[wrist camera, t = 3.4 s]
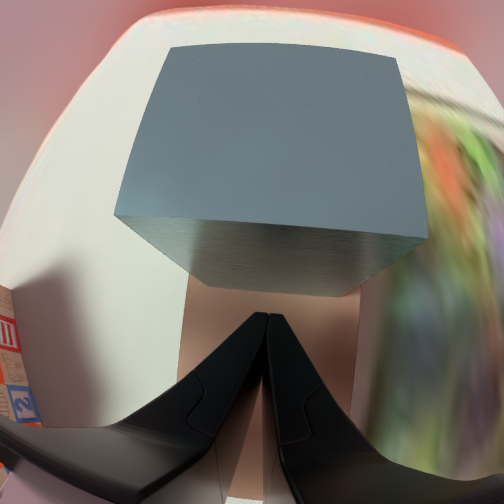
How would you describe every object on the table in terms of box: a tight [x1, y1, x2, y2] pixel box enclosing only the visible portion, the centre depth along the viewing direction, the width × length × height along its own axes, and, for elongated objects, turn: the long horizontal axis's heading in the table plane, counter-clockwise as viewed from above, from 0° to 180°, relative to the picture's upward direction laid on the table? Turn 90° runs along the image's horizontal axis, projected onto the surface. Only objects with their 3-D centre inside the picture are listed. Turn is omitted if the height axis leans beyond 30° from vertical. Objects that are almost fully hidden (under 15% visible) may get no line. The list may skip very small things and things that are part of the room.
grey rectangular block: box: [114, 43, 428, 298], centre depth 10 cm, size 5×6×9 cm
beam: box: [176, 273, 361, 501], centre depth 17 cm, size 25×9×5 cm, turn 174°
